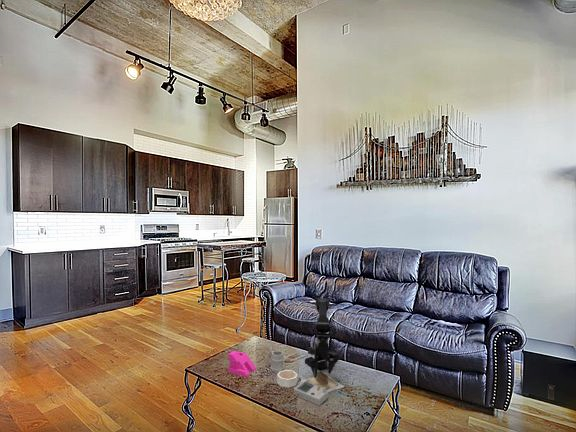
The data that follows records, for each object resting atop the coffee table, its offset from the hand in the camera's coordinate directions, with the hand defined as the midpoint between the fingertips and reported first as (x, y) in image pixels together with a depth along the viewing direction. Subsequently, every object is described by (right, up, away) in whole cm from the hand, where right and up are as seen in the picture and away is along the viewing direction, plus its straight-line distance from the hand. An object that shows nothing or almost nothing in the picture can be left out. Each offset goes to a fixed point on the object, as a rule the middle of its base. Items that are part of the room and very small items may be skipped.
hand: (322, 375), depth 168 cm
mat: (0, -5, 0) cm, 5 cm away
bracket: (-43, -4, +14) cm, 46 cm away
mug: (-25, -5, +16) cm, 30 cm away
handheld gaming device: (-6, -4, -12) cm, 15 cm away
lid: (0, -4, 0) cm, 4 cm away
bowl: (-18, -4, +1) cm, 19 cm away
